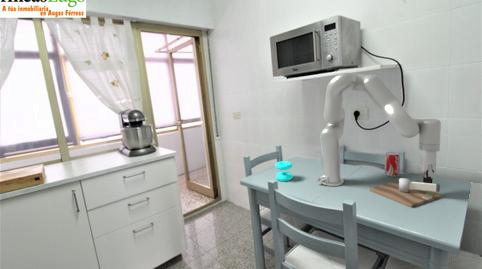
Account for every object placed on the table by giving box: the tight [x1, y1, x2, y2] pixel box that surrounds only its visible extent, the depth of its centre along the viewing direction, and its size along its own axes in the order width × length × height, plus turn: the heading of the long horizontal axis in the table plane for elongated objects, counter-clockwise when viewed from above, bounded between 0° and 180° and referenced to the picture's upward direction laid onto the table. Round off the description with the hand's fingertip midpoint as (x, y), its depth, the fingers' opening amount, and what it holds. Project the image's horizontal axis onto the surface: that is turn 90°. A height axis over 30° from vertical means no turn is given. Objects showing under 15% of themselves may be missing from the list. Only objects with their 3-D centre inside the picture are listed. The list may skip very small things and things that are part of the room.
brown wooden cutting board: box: [368, 179, 444, 209], centre depth 115 cm, size 21×21×2 cm
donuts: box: [275, 160, 294, 182], centre depth 146 cm, size 10×10×10 cm
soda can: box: [384, 151, 401, 178], centre depth 137 cm, size 7×7×13 cm
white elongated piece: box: [398, 177, 441, 193], centre depth 111 cm, size 15×4×5 cm, turn 59°
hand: (427, 185), depth 111 cm, fingers closed
